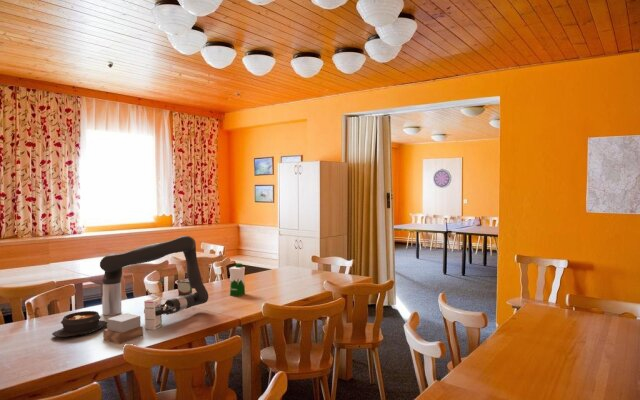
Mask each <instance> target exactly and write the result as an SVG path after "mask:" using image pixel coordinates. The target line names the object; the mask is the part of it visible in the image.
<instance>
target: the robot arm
mask: <svg viewBox="0 0 640 400" xmlns="http://www.w3.org/2000/svg"><path fill="white" fill-rule="evenodd" d="M196 243H197V242H196V240H195V238H193V237H191V236H189V235H183V236H180V237H177V238H174V239H172V240H169V241H162V242H157V243H153V244H152V243H151V244H147V245H142V246H140V247H137V248H135V249H132V250H129V251H127V252H123V253H119V254H117V253H110V254H107V255H106V256H105V255H104V257H102V258H101V259H100V261H99V267H100V269H101V270H103V271H104V274H103V278H102V297H101V300H102V301H101V302H102V305H101V309H102V315H104V316H115V315H116V316H117V315H120V314H122V277H123V268H124V267H129V266H133V265H139V264H140V265H141V264H145V263H149V262H153V261H157V260H160V259H163V257H166V256H168V255H172V254H177V253H183V255H184V258H185V261H186V262H185V264H186V274H187V279H188V280H189V283H190V287H191V288H192V290H193V289H195V292H192V294H190V295H185V296H177V297H174V298H171V299H166V301H165V302H164V303H161V310H159V311H156V312H155V315H156V316H159V315H161V316H162V315H167V316H168V315H172V314H175V313H179V312H182V311H184V310H187V309H190V308H192V307H195V306H199V305H202V304H205V303H207V302H208V300H209V292H208V291H207V288H206V286H205V285H204V283H203V280H202V275H201V271H200V268H199V264H198V257H197V244H196ZM143 314H145V308H144V310H143Z"/></svg>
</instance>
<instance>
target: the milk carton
mask: <svg viewBox="0 0 640 400" xmlns="http://www.w3.org/2000/svg"><path fill="white" fill-rule="evenodd" d="M245 269H246V267H245V266H243V263H241V262H240V263H235V266H231V267H229V268H228V271H229V275H230V276H229V280H230V281H229V282H230V283H229V285H230V288H229V296H233V297H241V296H243V295H245V294H246V291H245V289H246V288H245V285H246V284H245V271H246V270H245Z"/></svg>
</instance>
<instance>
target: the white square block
mask: <svg viewBox="0 0 640 400" xmlns="http://www.w3.org/2000/svg"><path fill="white" fill-rule="evenodd" d="M106 321H107V325H106V326H107V328H106V329H107V330H111V331H116V332H120V333H123V332H126V331H129V330H132V329H135V328H138V327H140V326H142V324H141V315H138V314H132V313H123V314H122V313H121V314H118V315H116V316H112V317H109V318H107V319H106Z"/></svg>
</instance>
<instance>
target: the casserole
mask: <svg viewBox="0 0 640 400" xmlns="http://www.w3.org/2000/svg"><path fill="white" fill-rule="evenodd" d="M101 316H102V315H100V314H99V312H98V311H95V310H85V311H84V310H83V311H78V312H77V311H75V312H72V313H69V314H66V315H64V316H63V318H62V320H61V321H60V324H61V325H62V328H60V329H58V330H56V331H54V332H52V334H51V335H52V336H53V337H58V338H67V337H68V338H69V337H73V336H74V337H75V336H77V337H78V336H84V335H88V334H91V333H94V332H95V331H98V330H100V329H102V328H103V327H105V326H107V320H106V321H105V320H101Z"/></svg>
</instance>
